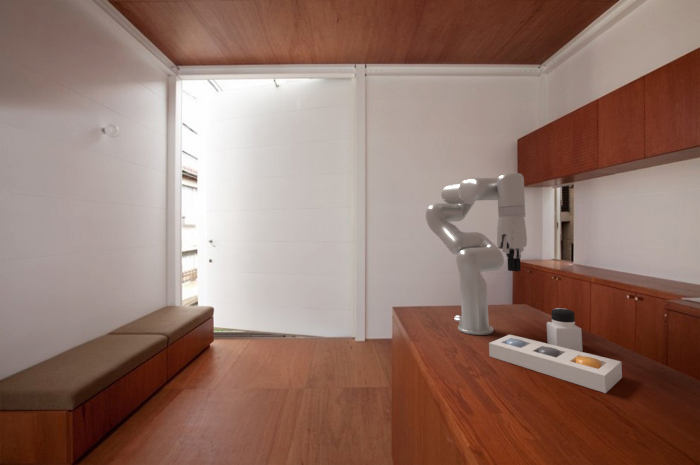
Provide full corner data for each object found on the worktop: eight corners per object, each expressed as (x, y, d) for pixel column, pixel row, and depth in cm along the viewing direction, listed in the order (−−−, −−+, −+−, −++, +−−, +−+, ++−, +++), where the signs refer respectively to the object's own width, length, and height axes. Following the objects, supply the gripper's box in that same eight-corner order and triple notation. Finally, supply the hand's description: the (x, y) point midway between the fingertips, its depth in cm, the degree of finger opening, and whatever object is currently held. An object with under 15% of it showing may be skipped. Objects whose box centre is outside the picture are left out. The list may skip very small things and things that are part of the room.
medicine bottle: (583, 351, 93) (581, 312, 93) (557, 351, 94) (555, 312, 94) (571, 343, 100) (569, 306, 100) (547, 343, 101) (545, 306, 101)
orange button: (573, 373, 78) (572, 359, 78) (580, 367, 80) (580, 354, 80) (597, 380, 74) (596, 366, 74) (604, 374, 76) (603, 360, 76)
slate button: (503, 352, 92) (503, 341, 92) (512, 348, 95) (511, 337, 95) (520, 357, 88) (520, 345, 88) (529, 353, 91) (528, 341, 91)
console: (489, 356, 92) (488, 343, 93) (510, 346, 99) (509, 334, 99) (605, 393, 69) (604, 375, 69) (622, 377, 76) (621, 361, 76)
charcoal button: (535, 362, 85) (534, 349, 85) (543, 357, 88) (543, 345, 88) (555, 368, 81) (554, 355, 81) (563, 363, 84) (562, 350, 84)
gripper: (511, 214, 104) (514, 267, 104) (487, 213, 96) (489, 272, 95) (535, 212, 98) (538, 269, 98) (511, 211, 89) (514, 274, 89)
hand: (514, 270), depth 97 cm, fingers closed
